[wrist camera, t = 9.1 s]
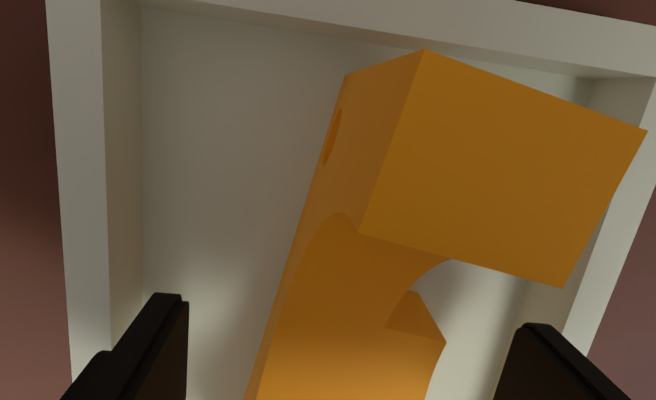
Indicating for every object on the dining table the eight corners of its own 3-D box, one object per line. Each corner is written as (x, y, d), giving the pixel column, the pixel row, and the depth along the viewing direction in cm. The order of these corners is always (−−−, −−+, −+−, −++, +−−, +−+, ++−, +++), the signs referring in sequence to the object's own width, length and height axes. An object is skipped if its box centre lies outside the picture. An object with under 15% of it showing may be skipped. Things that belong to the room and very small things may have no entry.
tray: (620, 49, 10) (715, 36, 8) (473, 482, 15) (506, 556, 13) (108, -40, 9) (39, -87, 7) (122, 472, 14) (84, 553, 11)
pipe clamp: (353, 443, 13) (399, 748, 7) (236, 422, 13) (174, 738, 6) (490, 124, 10) (775, 177, 4) (344, 74, 10) (424, 49, 3)
